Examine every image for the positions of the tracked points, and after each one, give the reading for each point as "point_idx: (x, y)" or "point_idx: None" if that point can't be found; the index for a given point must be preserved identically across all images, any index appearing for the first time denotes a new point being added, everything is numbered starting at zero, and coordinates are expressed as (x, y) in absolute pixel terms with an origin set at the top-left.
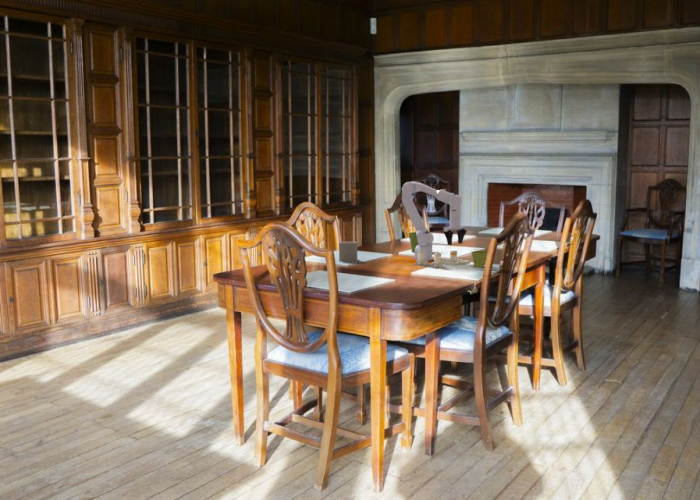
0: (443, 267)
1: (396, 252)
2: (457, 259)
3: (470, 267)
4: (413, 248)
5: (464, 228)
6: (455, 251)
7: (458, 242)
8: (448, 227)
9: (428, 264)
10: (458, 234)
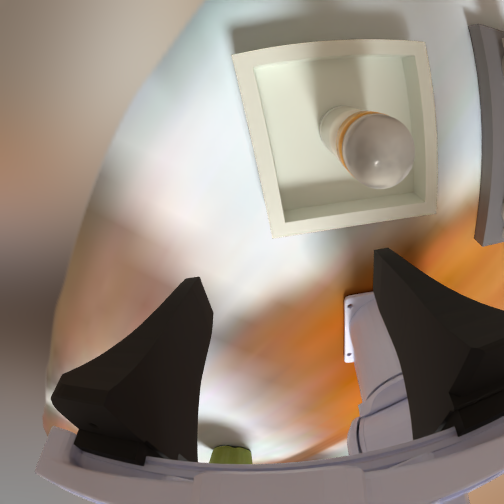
0: (496, 40)
1: (293, 458)
2: (276, 180)
3: (274, 6)
4: (250, 461)
5: (73, 452)
6: (380, 121)
7: (211, 320)
8: (500, 473)
9: (497, 181)
10: (190, 407)
